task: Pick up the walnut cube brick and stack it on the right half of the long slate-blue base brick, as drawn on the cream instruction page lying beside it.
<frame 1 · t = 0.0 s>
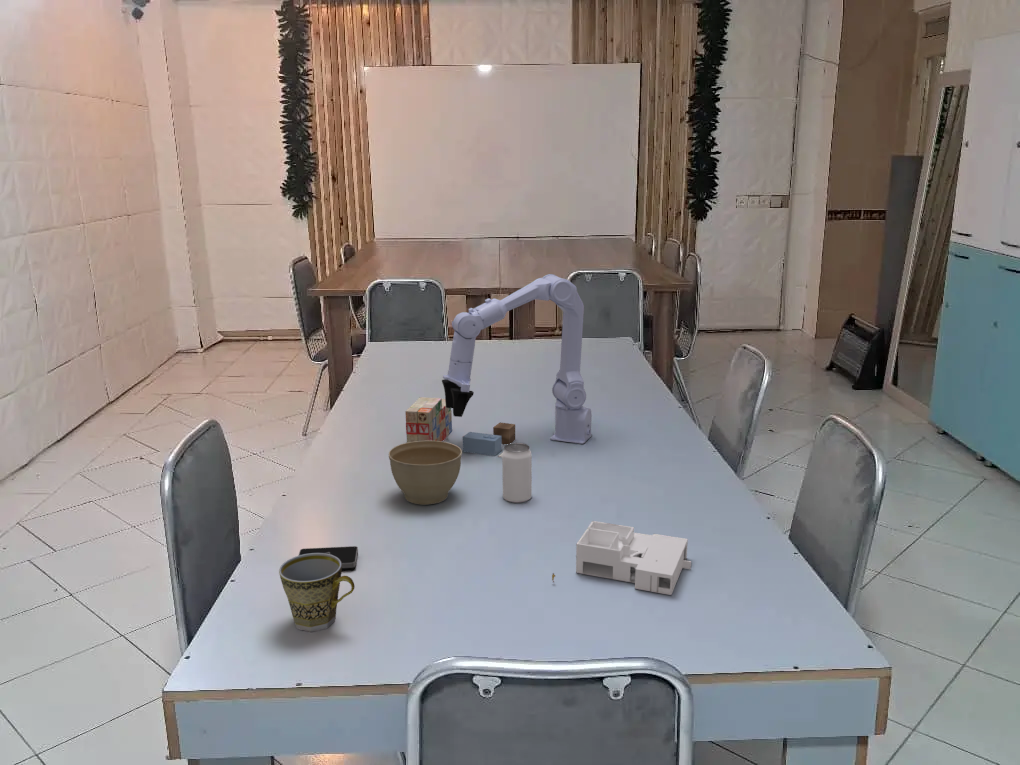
hand: (453, 411, 217), 11 cm above the table, tool pointing down, fingers open, 7 cm apart
walnut brick: (504, 441, 226), on the table
instruction page: (512, 453, 217), on the table
planter bowl: (427, 498, 191), on the table
house: (642, 573, 157), on the table
base brick: (482, 451, 219), on the table
stack of blocks: (430, 443, 226), on the table
ceramic cup: (322, 623, 140), on the table
can: (517, 498, 190), on the table
external hard drive: (327, 566, 160), on the table
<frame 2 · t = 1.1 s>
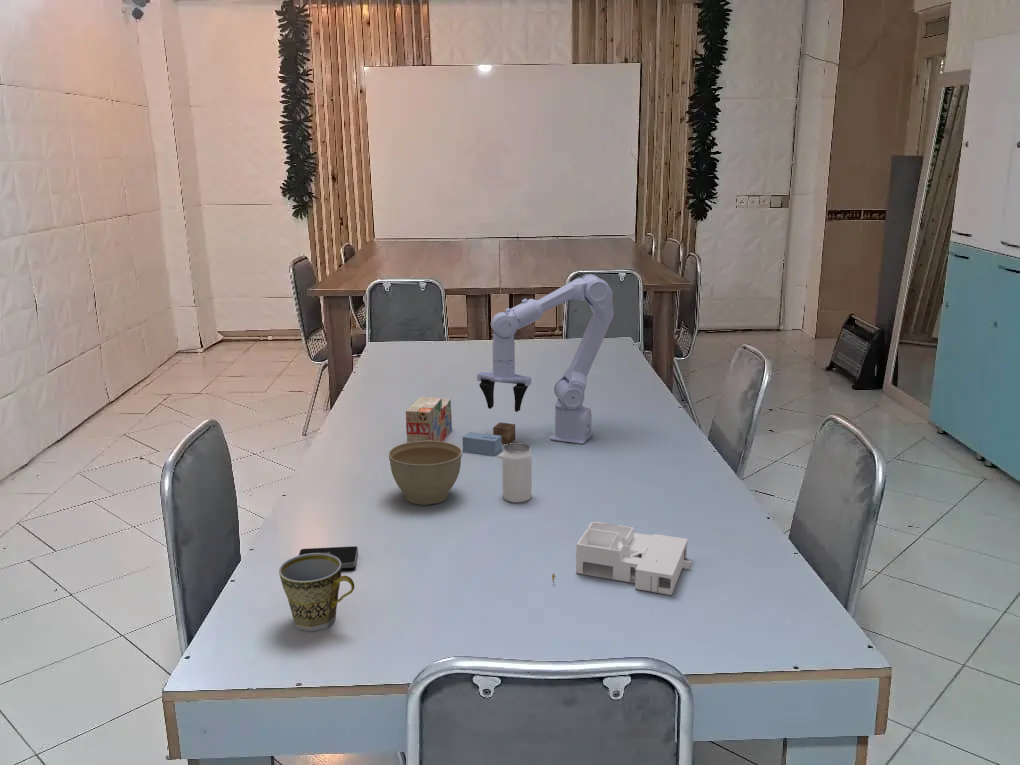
hand: (504, 409, 224), 9 cm above the table, tool pointing down, fingers open, 7 cm apart
nothing on the table moved.
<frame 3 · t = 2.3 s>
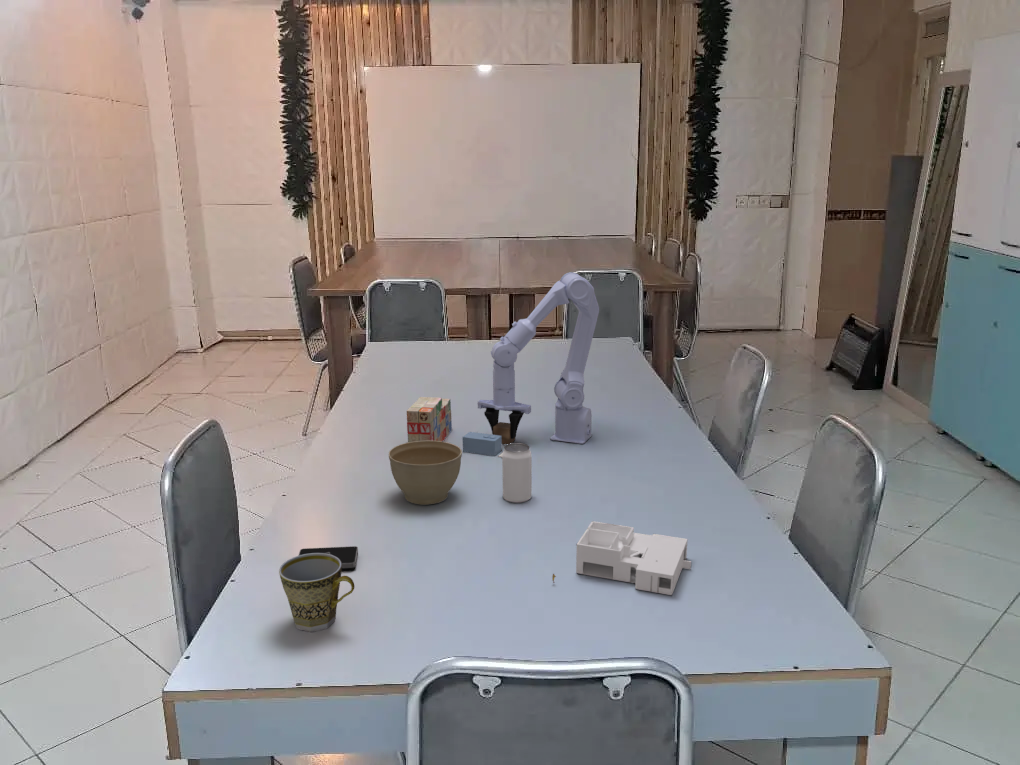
hand: (504, 436, 226), 1 cm above the table, tool pointing down, fingers closed on walnut brick, 4 cm apart
walnut brick: (504, 441, 226), on the table, touching gripper
everything else where it was.
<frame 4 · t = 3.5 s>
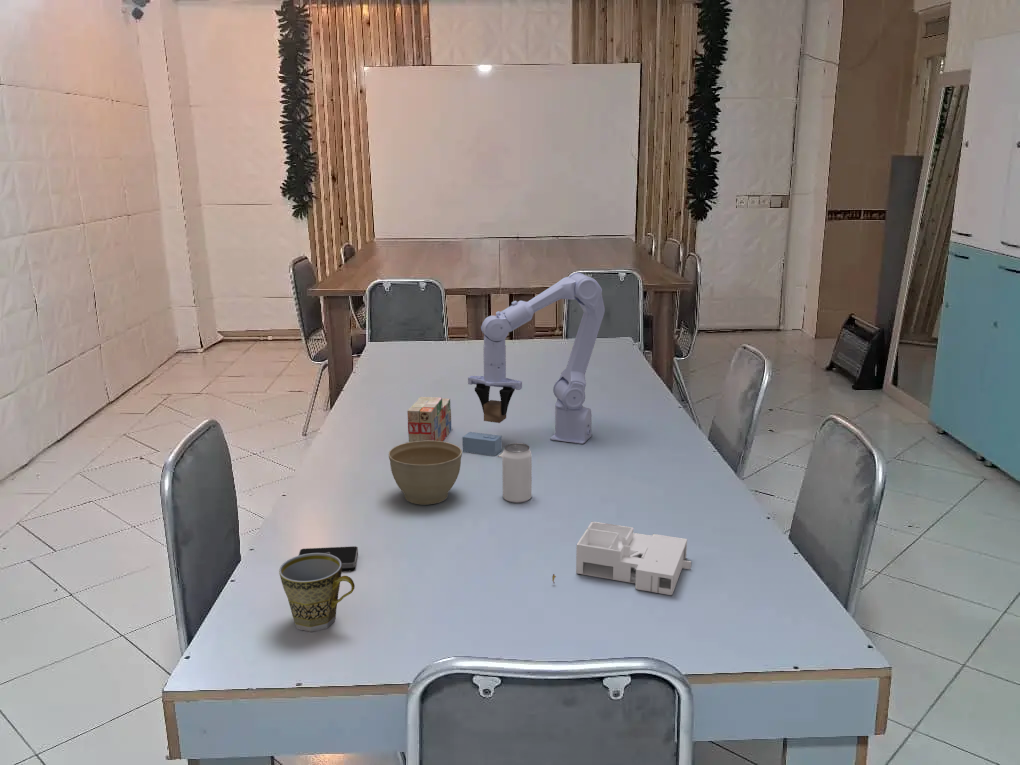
hand: (494, 413, 222), 9 cm above the table, tool pointing down, fingers closed on walnut brick, 4 cm apart
walnut brick: (495, 419, 223), point 7 cm above the table, touching gripper
everything else where it was.
when the fingers open (6 cm above the table, at t = 4.7 s): walnut brick stays where it is, resting on base brick.
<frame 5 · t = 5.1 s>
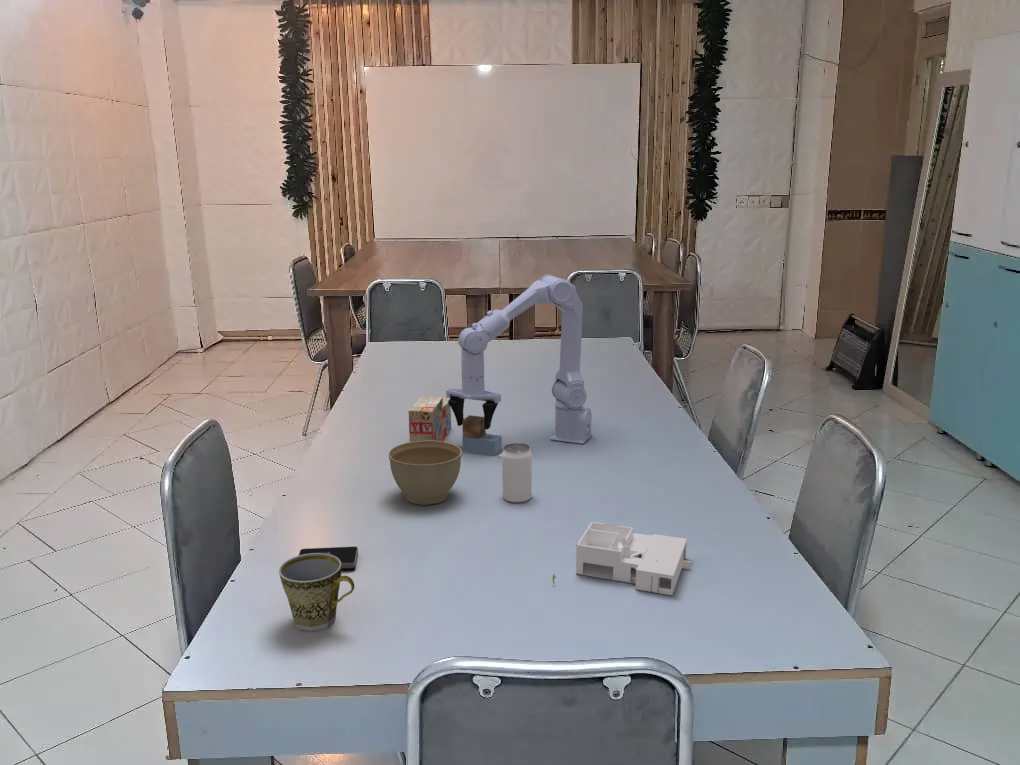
hand: (473, 426, 218), 6 cm above the table, tool pointing down, fingers open, 7 cm apart
walnut brick: (474, 435, 219), point 4 cm above the table, touching base brick
everything else where it was.
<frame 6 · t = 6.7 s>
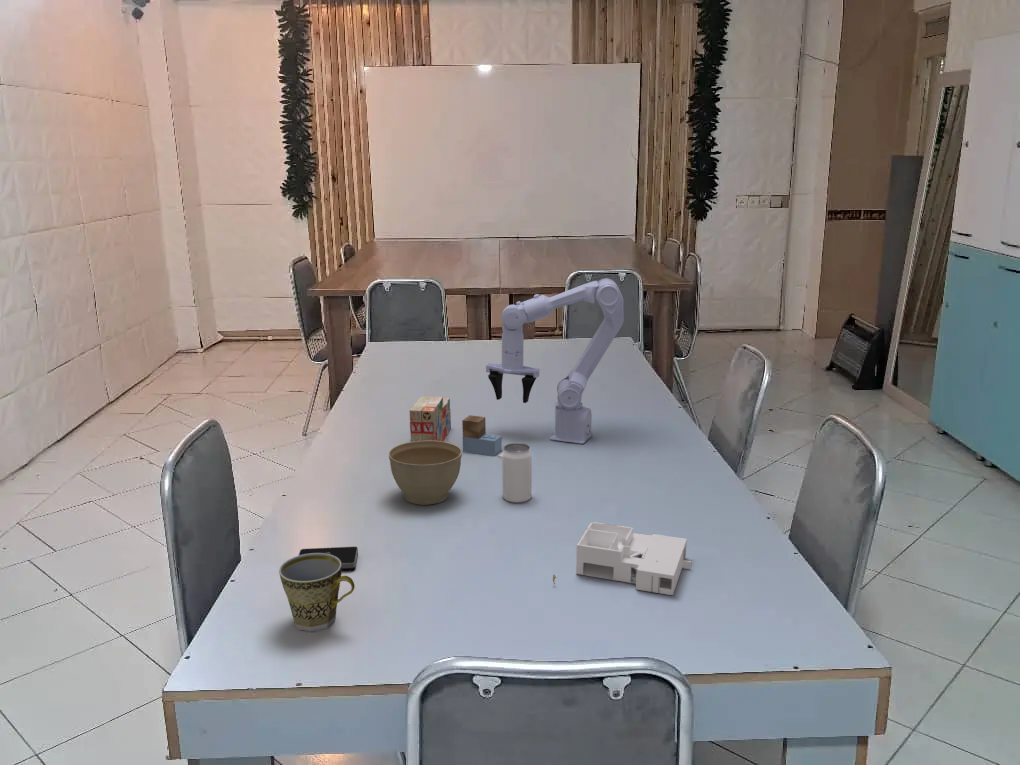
hand: (512, 400, 227), 10 cm above the table, tool pointing down, fingers open, 7 cm apart
nothing on the table moved.
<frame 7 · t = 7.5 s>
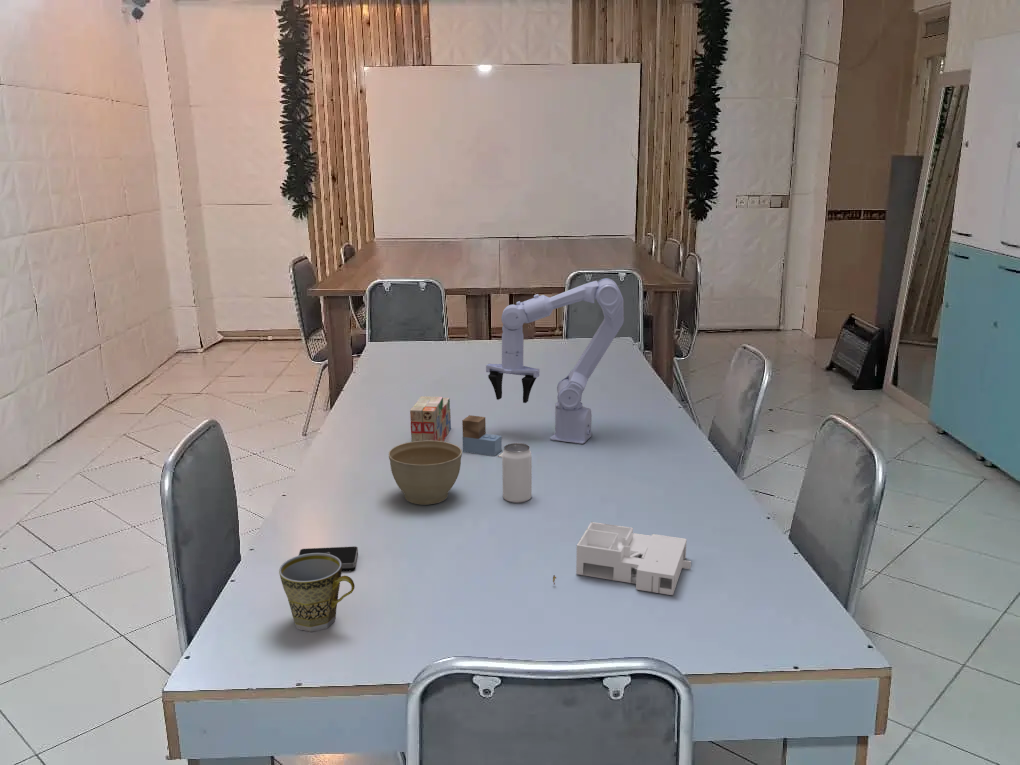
hand: (512, 400, 227), 10 cm above the table, tool pointing down, fingers open, 7 cm apart
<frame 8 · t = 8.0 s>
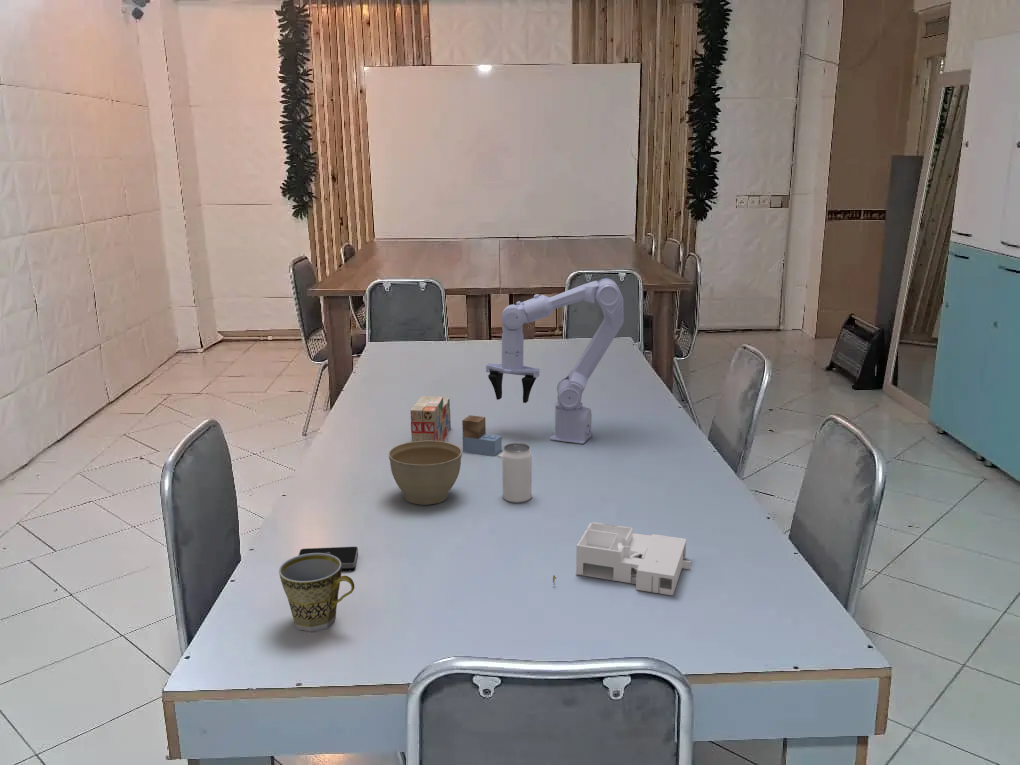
hand: (512, 400, 227), 10 cm above the table, tool pointing down, fingers open, 7 cm apart
at the end: walnut brick 0.1 cm from the target spot on the base brick, point 4.0 cm above the base brick's base; walnut brick tilted 0°; the gripper is holding nothing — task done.
